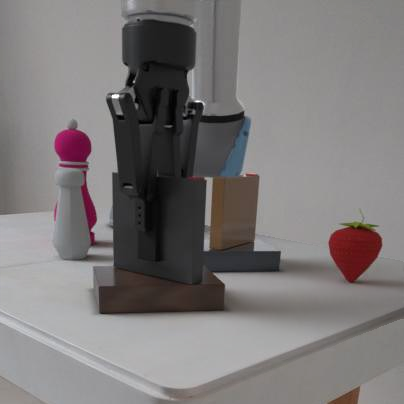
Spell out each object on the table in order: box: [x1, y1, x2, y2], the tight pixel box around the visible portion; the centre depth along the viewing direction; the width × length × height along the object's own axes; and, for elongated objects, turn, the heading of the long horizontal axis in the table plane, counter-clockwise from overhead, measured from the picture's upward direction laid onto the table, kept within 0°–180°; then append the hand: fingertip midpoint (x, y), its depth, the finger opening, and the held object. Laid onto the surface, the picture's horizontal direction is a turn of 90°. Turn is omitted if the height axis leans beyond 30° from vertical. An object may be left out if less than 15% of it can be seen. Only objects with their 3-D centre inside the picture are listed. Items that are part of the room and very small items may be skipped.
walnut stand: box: [92, 265, 226, 314], centre depth 66 cm, size 14×10×3 cm
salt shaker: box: [52, 168, 92, 261], centre depth 85 cm, size 6×6×13 cm
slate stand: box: [203, 238, 282, 273], centre depth 87 cm, size 12×10×3 cm
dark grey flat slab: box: [111, 171, 208, 285], centre depth 64 cm, size 12×2×11 cm, turn 54°
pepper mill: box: [53, 118, 98, 246], centre depth 95 cm, size 7×7×20 cm
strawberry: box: [327, 208, 383, 283], centre depth 78 cm, size 6×8×10 cm
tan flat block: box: [209, 172, 260, 250], centre depth 85 cm, size 11×2×10 cm, turn 149°
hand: (156, 257), depth 65 cm, fingers closed on dark grey flat slab, 2 cm apart
